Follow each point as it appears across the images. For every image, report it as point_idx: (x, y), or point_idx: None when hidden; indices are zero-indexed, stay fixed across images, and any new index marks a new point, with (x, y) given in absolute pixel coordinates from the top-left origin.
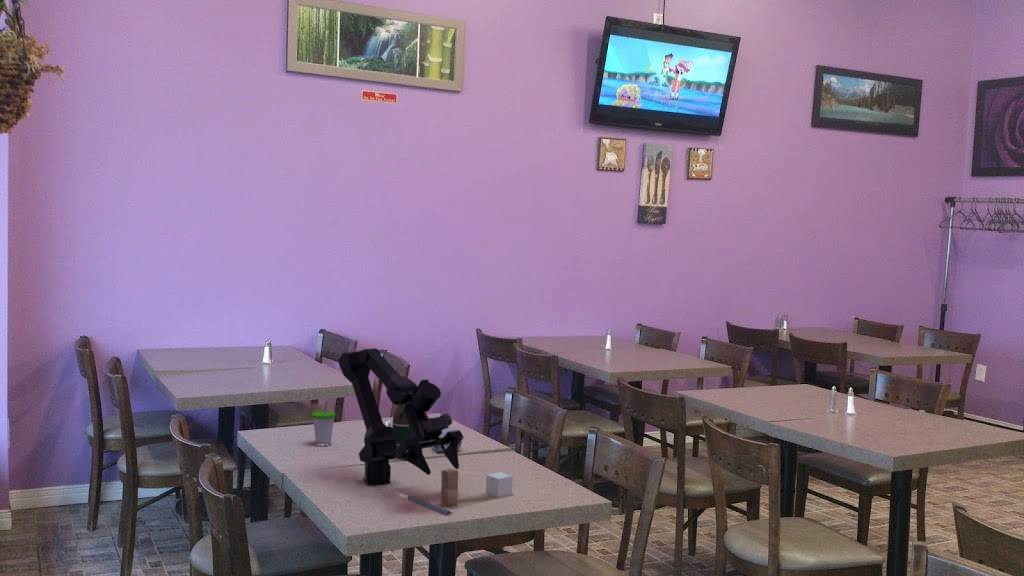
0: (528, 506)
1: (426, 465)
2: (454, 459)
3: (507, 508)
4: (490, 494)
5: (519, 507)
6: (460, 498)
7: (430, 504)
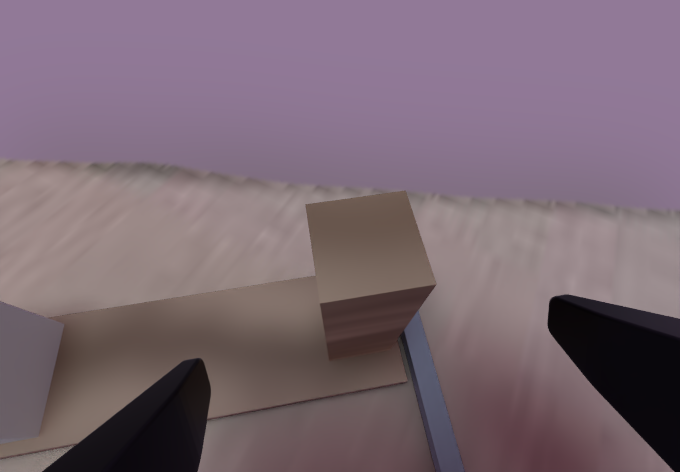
0: (43, 219)
1: (652, 319)
2: (156, 442)
3: (128, 234)
4: (47, 391)
5: (81, 224)
6: (236, 408)
7: (435, 395)
